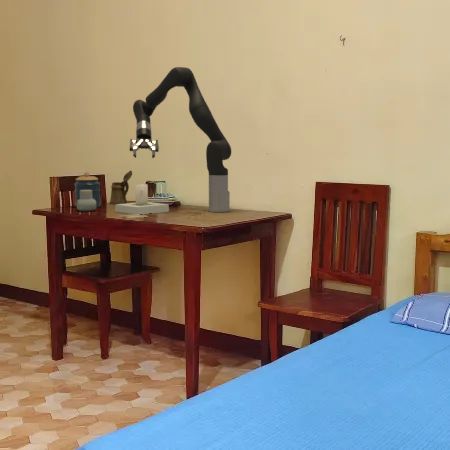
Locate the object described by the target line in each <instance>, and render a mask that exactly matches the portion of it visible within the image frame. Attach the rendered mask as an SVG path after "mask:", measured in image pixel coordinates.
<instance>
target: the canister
mask: <svg viewBox="0 0 450 450" xmlns="http://www.w3.org/2000/svg"><path fill="white" fill-rule="evenodd" d="M98 180H99V178H98V177H96V176H93V175H90V172H88V171H86V172H84V174H83V176H81V175H80V176H78V177H76V178H75V181H76V182H75V183H73V185H74V187H75V189H74V205H75V208H77V200H79V199H80V190H92V198H93V199H94V200H95V201H96V208H99V207H101V204H102V202H101V189H100V186H101V183H100V181H98Z"/></svg>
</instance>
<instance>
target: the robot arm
mask: <svg viewBox="0 0 450 450" xmlns="http://www.w3.org/2000/svg"><path fill="white" fill-rule="evenodd" d="M176 87H179V88H182V87H183V88H184V89H185V91H186V94H187V95H188V110H189V114H190V116H191V118H192V120H193V122H194V124H195V125H196V127H198V128H199V129H200V131H202V132H203V133H204V134H205V135H206V136H207V137H208V139H209V141H210V142H209V143H208V144H207V145H206V146H207V147H206V150H205V154H206V155H205V157H206V169H207V171H208V212H211V213H212V212H213V213H214V212H215V213H225V212H230V210H231V209H230V201H231V200H230V198H231V197H230V191H229V169H228V168H226V166H224V163H223V161H226V160H229V159H230V157H231V156H232V147H231V145H230V142H228V140H227V138H226V137H225V135H224V134H223V133H222V130H221V129H220V128H219V127H220V126H219V125H218V123H217V121H216V119H215V118H214V115H213V114H212V112H211V109H210V107H209V106H208V104H207V101H205V97H204V96H203V94H202V92H201V90H200V87H199V85H198V82H197V80H196V77H195V75H194V72H193V71H192V70H191V69H190V68H189V67H185V66H184V67H182V66H176V67H173V68H171V69H170V71H168V72H167V74H166V76H165V77H164V78H163V80H162V81H161V82H160V83H159V84H158V86H157V87H156V88H155V89H154V90H151V92H150V93H149V94H147V96H146V97H145V101H144V100H142V99H137V100H135V101H134V102H133V107H132V110H133V115H134V117H135V120H136V128H135V129H136V130H135V134H136V138H135V140H133V138H130V139H129V151H130V152H132V153H133V155H132V156H133V157H134V158H137V151H139V150H140V149H146V150H147V149H148V150H149V151H151V158H152V159H154V158H156V153H159V151H160V150H159V148H160V147H159V141H158V139H155V140H152V125H151V123H152V122H151V116H152V115H153V113H154V111H155V110H156V109H157V107H158V106H159V105H160V104H162V102H163V101H165V99H166V98H167V96H168V93H169V91H170V90H172V89H174V88H176ZM134 144H135V146H133V145H134Z"/></svg>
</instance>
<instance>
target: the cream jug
mask: <svg viewBox="0 0 450 450" xmlns="http://www.w3.org/2000/svg"><path fill="white" fill-rule="evenodd" d="M148 189H149V188H148V183H137V184H135V203H136V205H138V206H143V205H148V202H149V201H148V200H149V190H148Z"/></svg>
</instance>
